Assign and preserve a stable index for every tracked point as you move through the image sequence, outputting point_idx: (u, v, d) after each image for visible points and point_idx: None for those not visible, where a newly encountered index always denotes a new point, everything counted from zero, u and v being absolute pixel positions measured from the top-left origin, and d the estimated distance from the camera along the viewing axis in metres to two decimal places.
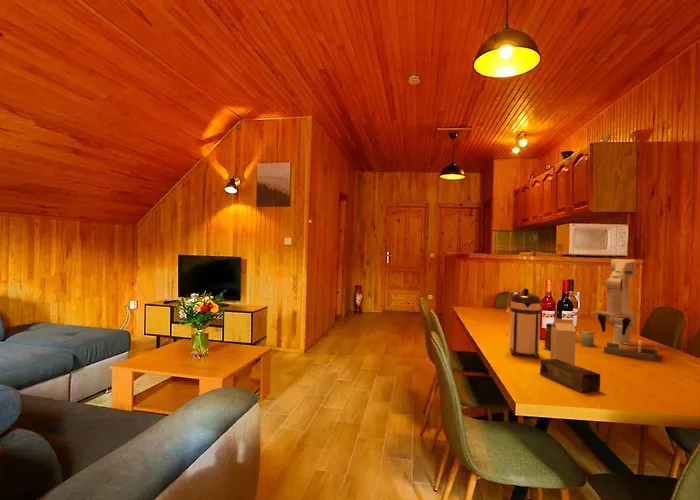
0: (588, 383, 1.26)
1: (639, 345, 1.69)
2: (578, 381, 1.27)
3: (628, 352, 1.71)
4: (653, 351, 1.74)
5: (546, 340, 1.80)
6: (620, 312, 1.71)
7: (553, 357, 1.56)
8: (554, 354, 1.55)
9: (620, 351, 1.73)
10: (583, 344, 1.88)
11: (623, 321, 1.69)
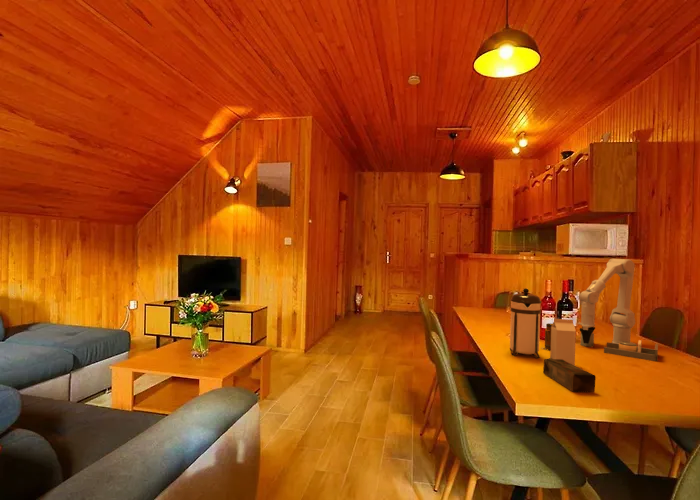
0: (579, 383, 1.26)
1: (639, 345, 1.69)
2: (570, 380, 1.28)
3: (628, 352, 1.71)
4: (653, 351, 1.74)
5: (546, 340, 1.80)
6: (584, 322, 1.87)
7: (553, 357, 1.56)
8: (554, 354, 1.55)
9: (620, 351, 1.73)
10: (583, 344, 1.88)
11: None
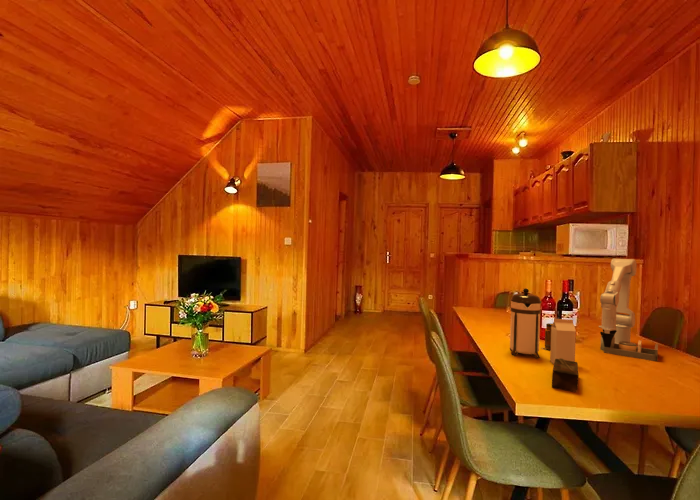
0: (558, 379, 1.29)
1: (639, 345, 1.69)
2: None
3: (628, 352, 1.71)
4: (653, 351, 1.74)
5: (546, 340, 1.80)
6: (605, 325, 1.79)
7: (553, 357, 1.56)
8: (554, 354, 1.55)
9: (620, 351, 1.73)
10: (603, 349, 1.80)
11: None
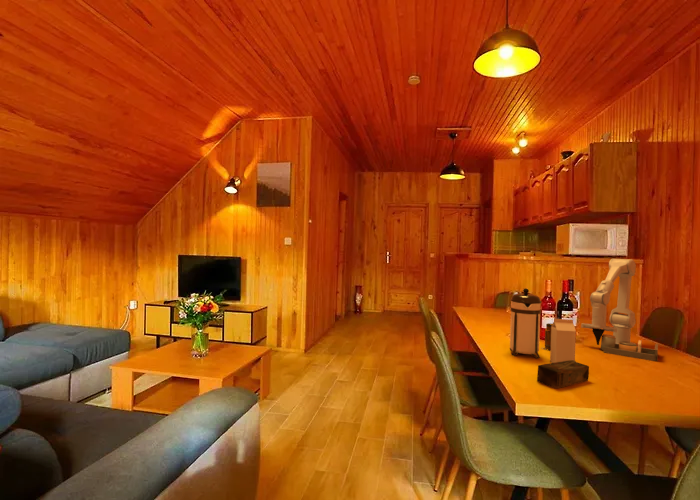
0: (541, 374, 1.34)
1: (639, 345, 1.69)
2: None
3: (628, 352, 1.71)
4: (653, 351, 1.74)
5: (546, 340, 1.80)
6: (604, 325, 1.81)
7: (553, 357, 1.56)
8: (554, 354, 1.55)
9: (620, 351, 1.73)
10: None
11: (598, 332, 1.81)
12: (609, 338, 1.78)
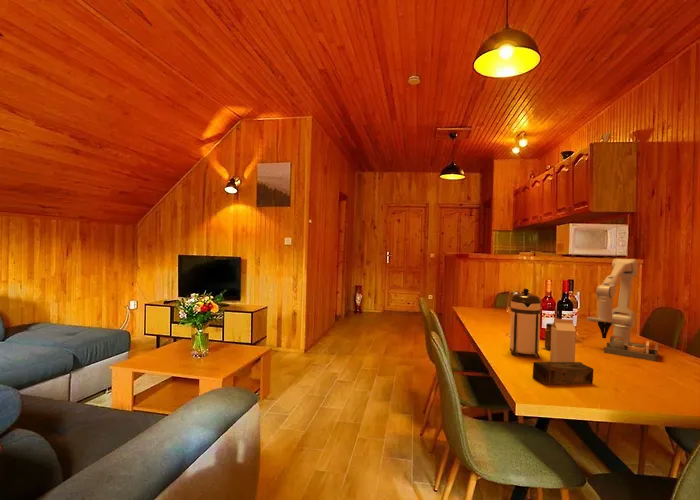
0: (534, 370, 1.38)
1: (647, 346, 1.67)
2: None
3: (628, 352, 1.71)
4: (653, 351, 1.74)
5: (546, 340, 1.80)
6: (611, 318, 1.79)
7: (553, 357, 1.56)
8: (554, 354, 1.55)
9: (620, 351, 1.73)
10: None
11: (605, 325, 1.79)
12: (618, 340, 1.76)
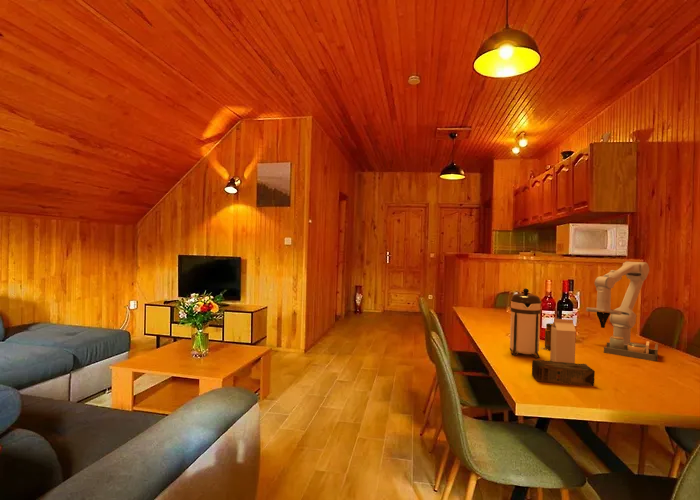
0: (532, 368, 1.41)
1: (647, 346, 1.67)
2: None
3: (628, 352, 1.71)
4: (653, 351, 1.74)
5: (546, 340, 1.80)
6: (609, 308, 1.86)
7: (553, 357, 1.56)
8: (554, 354, 1.55)
9: (620, 351, 1.73)
10: None
11: (604, 315, 1.86)
12: (617, 339, 1.76)
